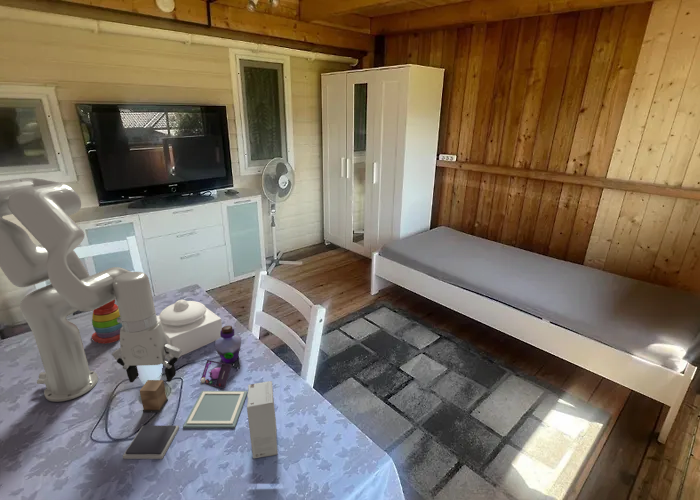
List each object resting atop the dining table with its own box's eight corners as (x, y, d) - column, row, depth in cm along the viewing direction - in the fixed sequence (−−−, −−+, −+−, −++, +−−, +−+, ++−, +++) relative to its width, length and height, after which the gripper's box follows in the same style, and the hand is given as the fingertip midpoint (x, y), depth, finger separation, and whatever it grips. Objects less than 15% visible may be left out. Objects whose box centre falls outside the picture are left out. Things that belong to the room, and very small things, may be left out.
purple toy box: (222, 388, 106) (198, 382, 109) (232, 389, 110) (209, 384, 114) (229, 364, 108) (205, 359, 112) (239, 366, 113) (216, 362, 116)
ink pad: (123, 458, 85) (122, 454, 84) (143, 427, 93) (142, 423, 93) (162, 458, 85) (161, 454, 84) (179, 428, 93) (178, 424, 93)
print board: (183, 428, 93) (182, 425, 93) (202, 392, 106) (201, 389, 105) (234, 428, 93) (234, 425, 93) (247, 392, 106) (247, 390, 105)
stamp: (143, 412, 98) (138, 391, 96) (151, 400, 102) (147, 379, 100) (160, 412, 98) (156, 391, 96) (167, 400, 102) (164, 379, 100)
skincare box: (277, 455, 86) (274, 404, 81) (251, 460, 85) (246, 408, 80) (276, 427, 94) (273, 379, 89) (252, 431, 93) (247, 382, 88)
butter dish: (201, 321, 143) (196, 284, 138) (224, 340, 131) (219, 300, 126) (153, 339, 131) (145, 299, 125) (173, 361, 119) (166, 318, 114)
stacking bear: (124, 325, 139) (115, 282, 133) (133, 336, 132) (123, 291, 126) (90, 336, 131) (79, 291, 125) (98, 348, 125) (86, 301, 119)
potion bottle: (221, 371, 115) (217, 338, 111) (212, 357, 121) (208, 325, 117) (248, 361, 119) (245, 329, 115) (238, 348, 126) (235, 317, 122)
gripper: (95, 329, 88) (111, 389, 93) (167, 328, 88) (179, 387, 93) (114, 314, 95) (127, 370, 100) (181, 313, 95) (191, 369, 101)
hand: (152, 378), depth 97 cm, fingers open, 9 cm apart
